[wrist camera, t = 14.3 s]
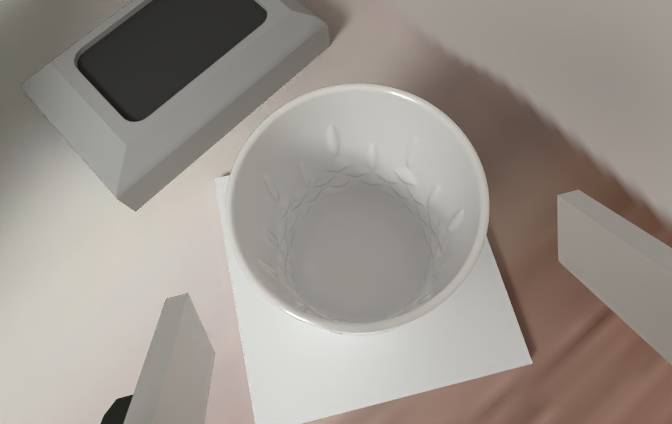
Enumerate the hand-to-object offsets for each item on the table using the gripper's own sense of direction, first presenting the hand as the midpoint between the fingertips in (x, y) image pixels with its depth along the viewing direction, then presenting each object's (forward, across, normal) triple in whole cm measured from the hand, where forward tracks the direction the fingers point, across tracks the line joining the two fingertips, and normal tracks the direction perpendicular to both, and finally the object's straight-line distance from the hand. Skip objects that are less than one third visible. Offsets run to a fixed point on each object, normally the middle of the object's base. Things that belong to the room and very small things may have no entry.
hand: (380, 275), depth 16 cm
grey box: (+17, -7, +6) cm, 19 cm away
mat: (+7, 0, -4) cm, 8 cm away
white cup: (+6, 0, -4) cm, 7 cm away
